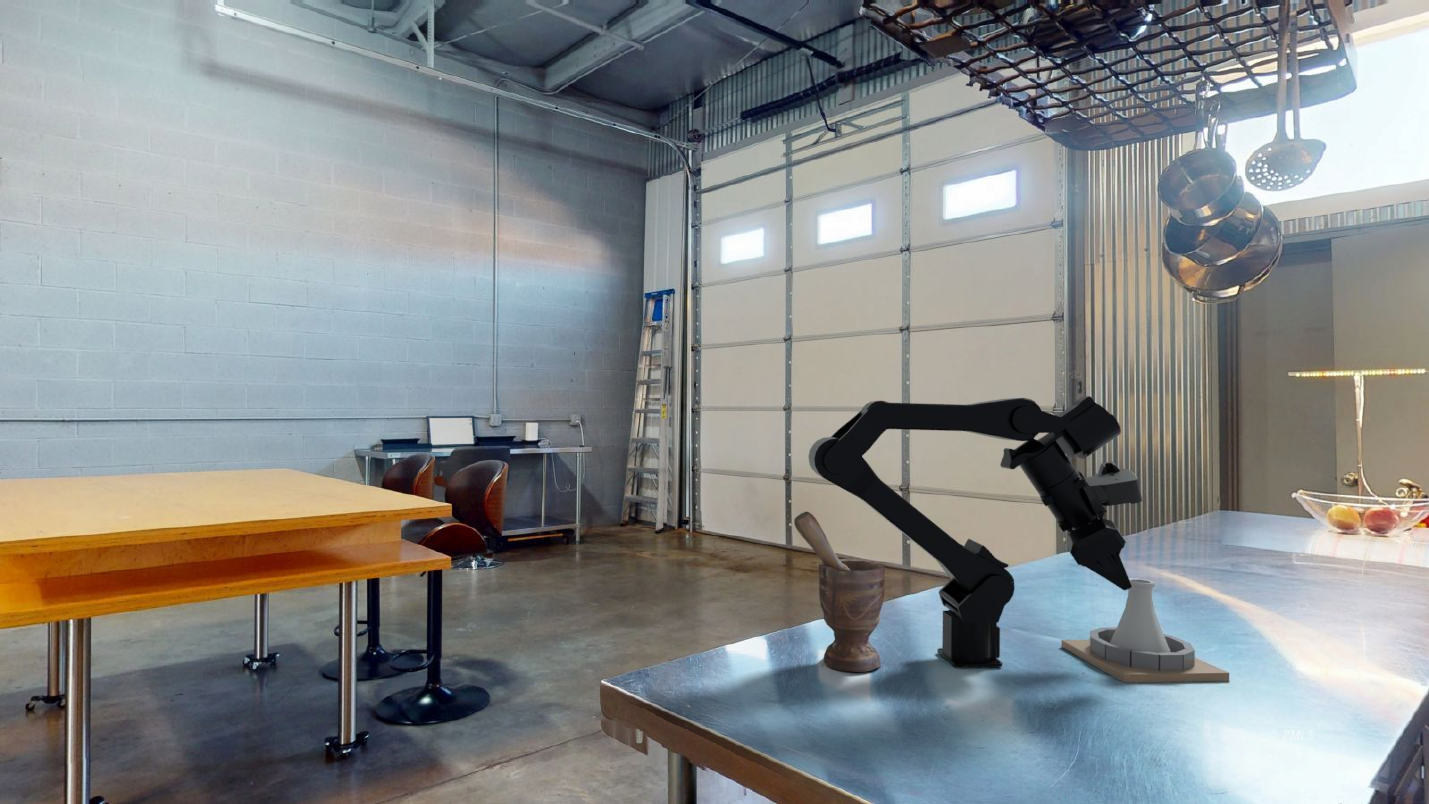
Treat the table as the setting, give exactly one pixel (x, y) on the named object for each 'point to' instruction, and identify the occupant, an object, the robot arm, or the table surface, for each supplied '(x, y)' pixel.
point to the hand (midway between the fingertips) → (1120, 573)
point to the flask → (1140, 621)
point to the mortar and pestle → (846, 600)
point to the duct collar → (1144, 660)
